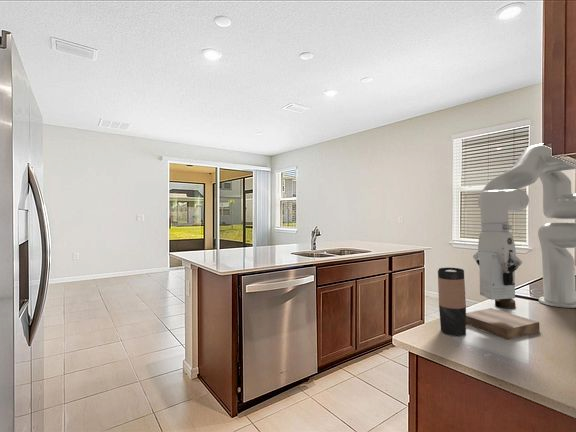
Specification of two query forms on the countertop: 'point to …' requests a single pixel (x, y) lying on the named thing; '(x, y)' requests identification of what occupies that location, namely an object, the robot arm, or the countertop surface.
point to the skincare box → (494, 278)
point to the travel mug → (452, 301)
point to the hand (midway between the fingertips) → (496, 282)
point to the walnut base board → (501, 323)
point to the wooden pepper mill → (505, 303)
